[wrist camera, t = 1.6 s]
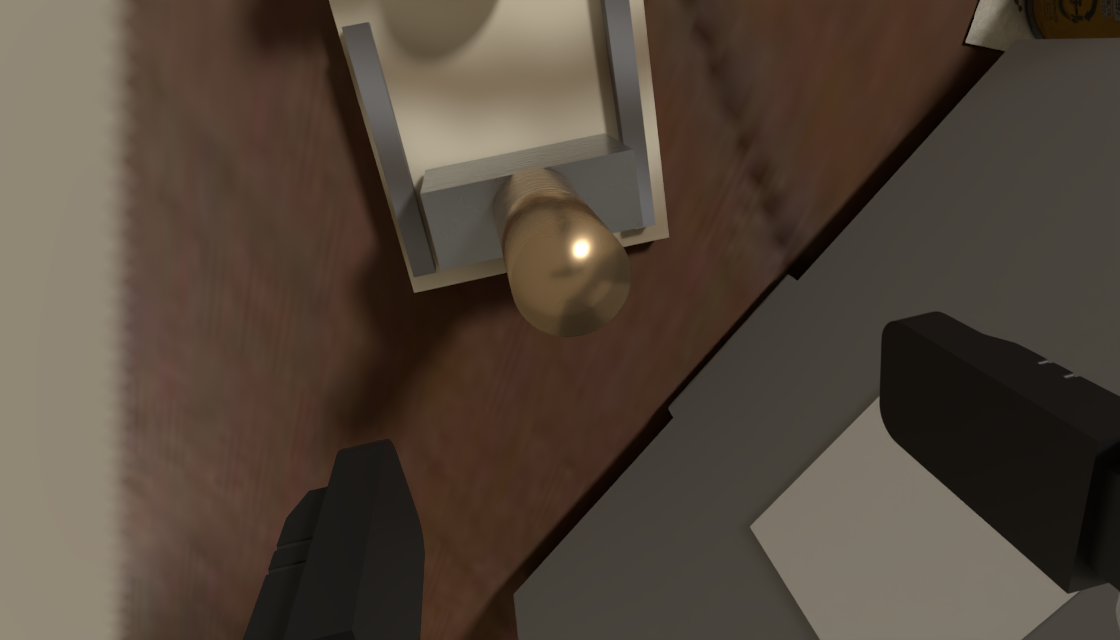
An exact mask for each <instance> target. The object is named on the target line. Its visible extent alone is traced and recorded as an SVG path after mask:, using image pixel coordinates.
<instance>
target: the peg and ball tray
mask: <svg viewBox="0 0 1120 640" xmlns="http://www.w3.org/2000/svg"><path fill="white" fill-rule="evenodd" d="M329 3H330V6H331V9H332V13H333V16H334V20H335V23H336V27H337V30H338V33H339V37H340V40H341V44H342V47H343V51H344V54H345V57H346V61H347V64H348V68H349V71H350V75H351V78H352V81H353V85H354V88H355V92H356V95H357V99H358V102H359V105H360V109H361V112H362V116H363V119H364V123H365V126H366V129H367V133H368V136H369V140H370V143H371V147H372V150H373V153H374V157H375V160H376V164H377V167H378V171H379V174H380V177H381V181H382V184H383V188H384V191H385V195H386V198H387V201H388V205H389V208H390V212H391V215H392V219H393V222H394V225H395V229H396V232H397V236H398V239H399V243H400V246H401V250H402V253H403V256H404V260H405V263H406V267H407V270H408V274H409V277H410V280H411V284H412V287H413V291H414V293H417V292H421V291H426V290H430V289H435V288H439V287H444V286H448V285H453V284H457V283H462V282H467V281H471V280H476V279H480V278H485V277H489V276H494V275H498V274H503V273H507V271H506V267H505V262H504V258H503V257H502V258H497V259H493V260H488V261H484V262H479V263H474V264H470V265H465V266H461V267H456V268H451V269H447V270H442V271H441V269H440V266H439V262H438V258H437V255H436V251H435V247H434V243H433V240H432V236H431V232H430V228H429V225H428V221H427V217H426V214H425V210H424V206H423V202H422V199H421V195H420V192H421V188H422V184H423V179H424V175H425V170H428V169H433V168H438V167H443V166H448V165H453V164H457V163H462V162H467V161H472V160H477V159H482V158H486V157H491V156H496V155H501V154H506V153H511V152H516V151H520V150H525V149H530V148H535V147H540V146H545V145H550V144H554V143H559V142H564V141H569V140H574V139H579V138H583V137H588V136H593V135H598V134H603V133H605V134H607V135H609V136H611V137H612V138H614V139H616V140H618V141H620V142H621V143H623V144H625V145H627V146H629V147H630V148H632V149H634V156H635V164H636V172H637V180H638V188H639V196H640V204H641V212H642V220H643V227H640V228H635V229H631V230H626V231H621V232H617V233H612V234H613V235H614V236H615V237H616V238H617V239H618V240H619V242H620V243H621V244H622V246H623V247H626V246H631V245H635V244H640V243H644V242H649V241H653V240H658V239H662V238H667V237H669V232H668V222H667V213H666V204H665V195H664V186H663V177H662V168H661V158H660V149H659V140H658V131H657V122H656V113H655V104H654V94H653V85H652V76H651V67H650V58H649V49H648V40H647V31H646V21H645V12H644V3H643V0H329Z"/></svg>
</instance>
